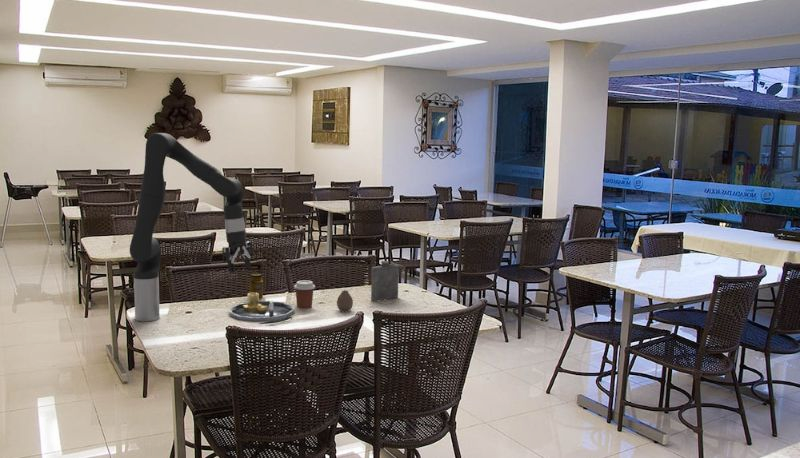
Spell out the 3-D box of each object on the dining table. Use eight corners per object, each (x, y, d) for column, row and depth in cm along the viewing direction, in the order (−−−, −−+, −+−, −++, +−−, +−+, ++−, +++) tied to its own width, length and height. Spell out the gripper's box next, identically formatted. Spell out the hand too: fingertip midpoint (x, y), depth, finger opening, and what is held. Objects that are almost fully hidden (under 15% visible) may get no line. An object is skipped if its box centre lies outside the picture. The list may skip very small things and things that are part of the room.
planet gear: (239, 308, 278) (239, 293, 277) (256, 305, 284) (256, 290, 283) (249, 312, 272) (249, 297, 271) (267, 309, 278) (266, 294, 277)
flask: (369, 300, 303) (369, 261, 300) (394, 296, 311) (395, 259, 308) (373, 301, 300) (373, 263, 297) (399, 298, 308) (400, 260, 305)
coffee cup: (289, 309, 283) (289, 282, 281) (302, 305, 291) (302, 278, 289) (306, 312, 279) (307, 285, 277) (319, 308, 287) (319, 281, 285)
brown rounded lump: (355, 310, 284) (356, 291, 283) (344, 313, 279) (344, 293, 278) (345, 307, 289) (345, 288, 287) (333, 310, 284) (333, 290, 282)
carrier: (218, 313, 274) (218, 297, 273) (271, 303, 292) (271, 288, 291) (251, 327, 255) (251, 310, 254) (305, 316, 273) (305, 300, 272)
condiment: (263, 298, 301) (263, 272, 299) (264, 302, 293) (263, 276, 291) (247, 298, 300) (247, 273, 298) (247, 303, 291) (247, 277, 290)
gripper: (241, 227, 263) (245, 266, 266) (215, 232, 251) (219, 273, 253) (255, 227, 259) (259, 267, 262) (229, 232, 247) (233, 274, 250)
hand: (240, 270), depth 258 cm, fingers open, 8 cm apart
